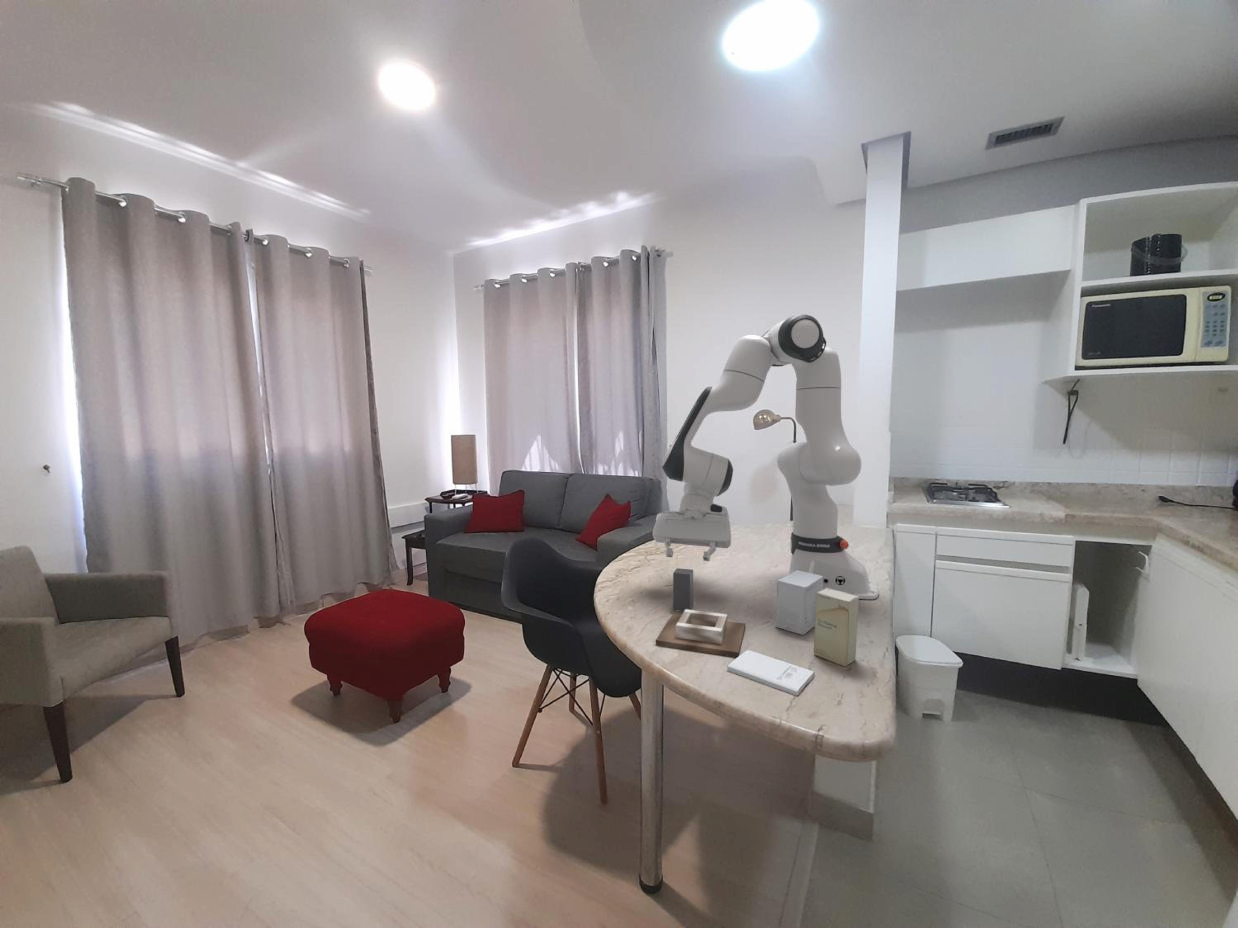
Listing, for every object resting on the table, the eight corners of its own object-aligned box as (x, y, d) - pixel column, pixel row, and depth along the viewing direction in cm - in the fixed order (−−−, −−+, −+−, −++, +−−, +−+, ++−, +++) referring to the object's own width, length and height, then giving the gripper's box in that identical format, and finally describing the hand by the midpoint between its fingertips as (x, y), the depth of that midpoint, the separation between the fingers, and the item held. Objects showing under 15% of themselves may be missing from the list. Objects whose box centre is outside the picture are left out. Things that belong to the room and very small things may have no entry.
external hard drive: (747, 656, 90) (814, 679, 82) (727, 673, 84) (797, 699, 76) (748, 648, 90) (815, 669, 82) (727, 665, 84) (797, 689, 75)
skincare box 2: (813, 654, 89) (814, 592, 88) (824, 647, 92) (825, 586, 91) (846, 667, 84) (848, 601, 83) (857, 659, 87) (859, 595, 86)
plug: (693, 606, 114) (693, 569, 114) (689, 612, 111) (690, 574, 110) (677, 604, 116) (677, 568, 115) (673, 610, 112) (673, 572, 111)
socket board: (745, 627, 101) (745, 612, 101) (738, 657, 88) (738, 639, 88) (672, 618, 107) (672, 603, 107) (655, 644, 94) (655, 627, 94)
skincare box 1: (804, 636, 97) (805, 586, 97) (774, 627, 102) (775, 579, 101) (823, 620, 105) (824, 574, 104) (794, 613, 109) (795, 569, 109)
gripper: (655, 503, 128) (645, 547, 120) (732, 508, 121) (727, 555, 113) (660, 517, 133) (649, 560, 124) (734, 522, 126) (729, 568, 117)
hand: (687, 557), depth 118 cm, fingers open, 8 cm apart
